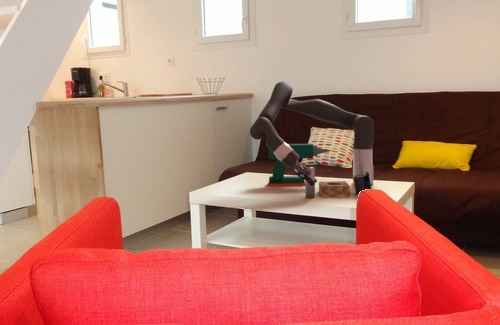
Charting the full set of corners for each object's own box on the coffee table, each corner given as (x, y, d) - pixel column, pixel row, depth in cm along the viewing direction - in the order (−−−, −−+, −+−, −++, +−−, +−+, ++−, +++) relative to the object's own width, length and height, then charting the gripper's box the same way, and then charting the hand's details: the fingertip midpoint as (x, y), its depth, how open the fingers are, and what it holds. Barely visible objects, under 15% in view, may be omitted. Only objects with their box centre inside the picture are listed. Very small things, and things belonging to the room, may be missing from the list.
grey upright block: (307, 195, 203) (306, 166, 201) (316, 195, 202) (316, 166, 200) (303, 198, 196) (303, 168, 195) (313, 199, 195) (313, 168, 193)
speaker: (374, 193, 203) (371, 170, 202) (372, 196, 198) (369, 172, 197) (356, 193, 206) (354, 171, 205) (354, 197, 201) (351, 173, 200)
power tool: (332, 183, 232) (332, 143, 229) (333, 185, 225) (333, 144, 222) (268, 183, 235) (268, 144, 232) (267, 186, 228) (267, 145, 225)
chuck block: (345, 190, 211) (345, 181, 210) (349, 196, 199) (349, 186, 198) (318, 191, 212) (318, 181, 211) (321, 196, 200) (321, 186, 199)
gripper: (284, 159, 208) (311, 186, 205) (276, 163, 194) (305, 192, 192) (296, 147, 205) (323, 175, 203) (288, 150, 192) (318, 180, 190)
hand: (314, 183), depth 198 cm, fingers closed on grey upright block, 4 cm apart
